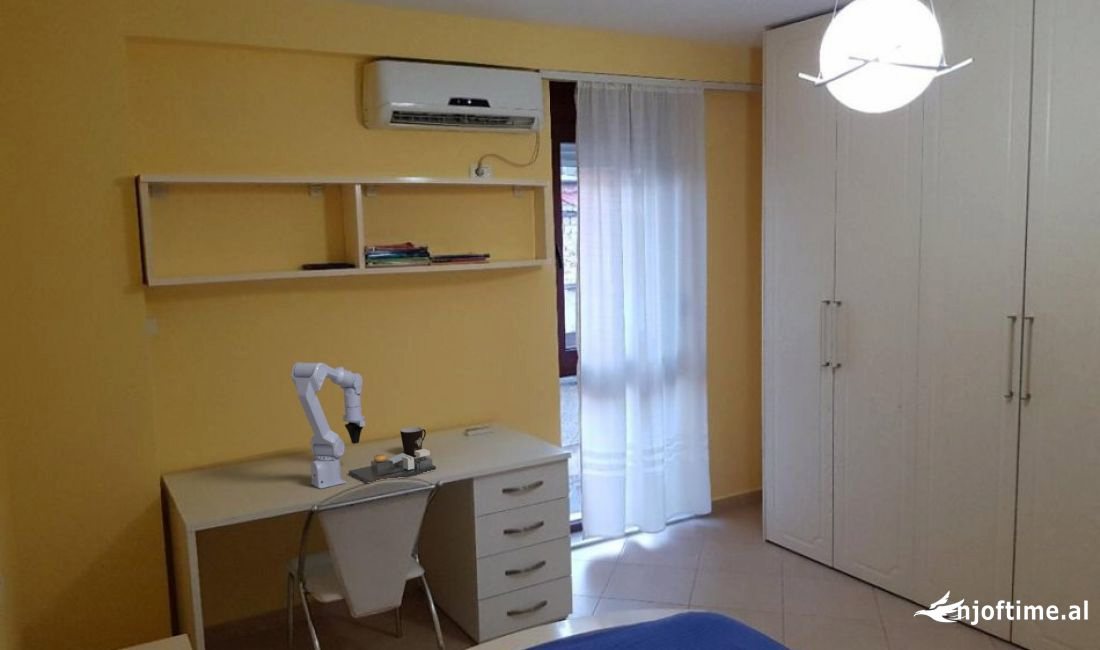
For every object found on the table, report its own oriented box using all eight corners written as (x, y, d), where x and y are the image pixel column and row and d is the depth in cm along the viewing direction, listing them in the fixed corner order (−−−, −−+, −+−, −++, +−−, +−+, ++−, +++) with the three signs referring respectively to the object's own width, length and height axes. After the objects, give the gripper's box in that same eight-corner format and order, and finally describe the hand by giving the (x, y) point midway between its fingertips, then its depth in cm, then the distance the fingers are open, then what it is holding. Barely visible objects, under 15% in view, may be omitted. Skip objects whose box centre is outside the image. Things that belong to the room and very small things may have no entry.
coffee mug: (407, 459, 312) (405, 433, 310) (398, 454, 319) (396, 429, 318) (435, 453, 318) (433, 428, 317) (425, 449, 325) (424, 424, 324)
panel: (371, 485, 280) (370, 474, 279) (349, 474, 294) (348, 463, 294) (436, 470, 295) (435, 459, 295) (411, 460, 309) (410, 450, 309)
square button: (420, 463, 293) (419, 453, 293) (414, 461, 296) (414, 450, 296) (430, 461, 296) (429, 450, 295) (424, 459, 299) (424, 448, 298)
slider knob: (408, 469, 290) (407, 458, 290) (402, 467, 294) (402, 456, 293) (414, 468, 292) (413, 457, 291) (408, 466, 295) (408, 455, 295)
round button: (377, 469, 293) (377, 458, 292) (372, 466, 296) (371, 456, 296) (389, 466, 296) (388, 456, 295) (383, 464, 299) (382, 453, 299)
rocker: (393, 463, 297) (392, 461, 297) (388, 461, 300) (387, 459, 300) (407, 457, 300) (407, 454, 300) (402, 455, 303) (402, 452, 303)
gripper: (372, 407, 294) (374, 444, 296) (354, 401, 306) (357, 437, 307) (353, 410, 290) (356, 448, 291) (336, 404, 301) (339, 441, 303)
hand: (355, 443), depth 299 cm, fingers closed
